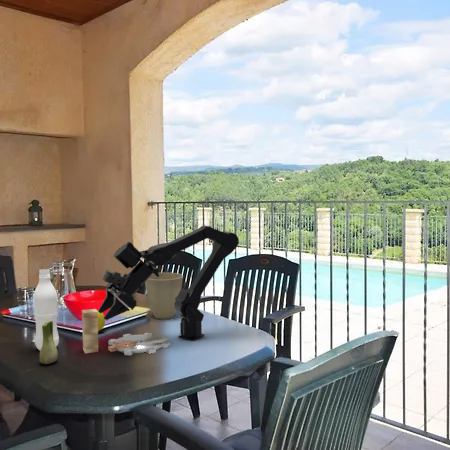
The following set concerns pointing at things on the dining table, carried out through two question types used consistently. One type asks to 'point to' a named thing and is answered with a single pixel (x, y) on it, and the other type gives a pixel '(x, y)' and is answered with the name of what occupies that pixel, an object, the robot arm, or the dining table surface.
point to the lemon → (100, 320)
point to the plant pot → (163, 293)
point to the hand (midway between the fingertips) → (102, 315)
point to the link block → (90, 330)
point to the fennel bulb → (48, 345)
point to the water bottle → (45, 307)
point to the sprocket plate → (138, 343)
